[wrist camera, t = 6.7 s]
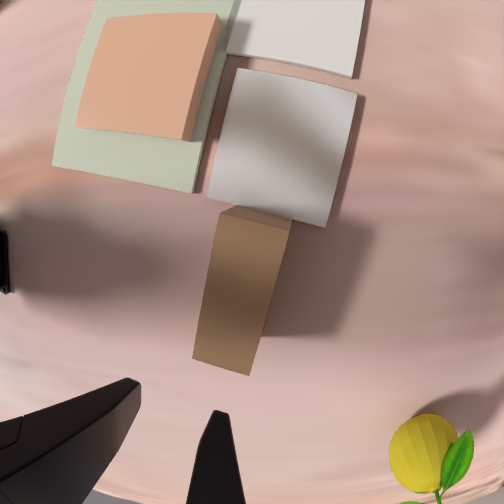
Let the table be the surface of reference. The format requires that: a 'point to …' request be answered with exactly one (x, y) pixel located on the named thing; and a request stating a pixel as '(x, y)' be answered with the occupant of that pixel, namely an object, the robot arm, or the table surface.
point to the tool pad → (298, 32)
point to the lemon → (429, 455)
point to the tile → (149, 74)
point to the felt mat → (133, 145)
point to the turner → (265, 200)
